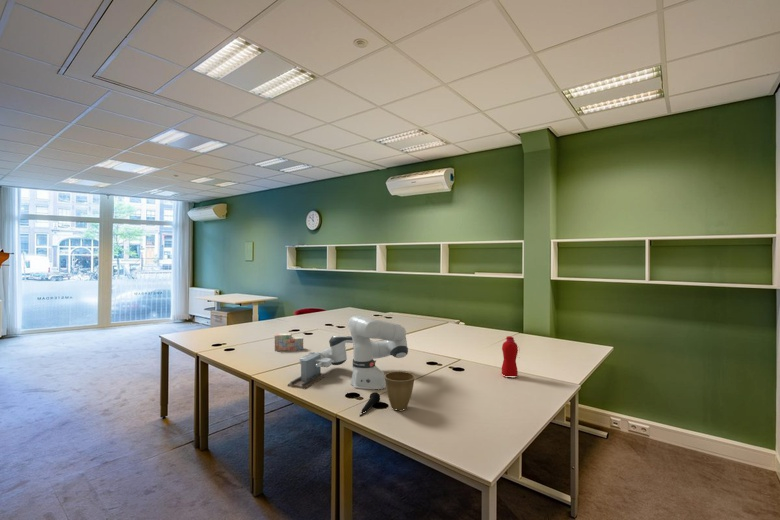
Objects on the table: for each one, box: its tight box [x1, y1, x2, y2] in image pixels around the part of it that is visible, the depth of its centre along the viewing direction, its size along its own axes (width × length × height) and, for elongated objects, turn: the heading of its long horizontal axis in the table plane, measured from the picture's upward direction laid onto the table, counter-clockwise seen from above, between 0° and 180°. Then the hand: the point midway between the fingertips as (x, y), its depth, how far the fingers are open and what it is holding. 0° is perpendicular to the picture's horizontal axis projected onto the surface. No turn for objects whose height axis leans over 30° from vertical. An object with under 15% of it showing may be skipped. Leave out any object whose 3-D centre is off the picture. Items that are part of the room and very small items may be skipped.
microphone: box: [360, 391, 381, 413], centre depth 181 cm, size 6×6×20 cm
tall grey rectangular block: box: [300, 354, 322, 381], centre depth 222 cm, size 4×16×12 cm, turn 159°
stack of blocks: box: [274, 332, 304, 352], centre depth 288 cm, size 21×6×12 cm, turn 98°
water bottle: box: [501, 336, 519, 377], centre depth 230 cm, size 9×11×25 cm
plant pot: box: [384, 371, 415, 411], centre depth 181 cm, size 15×15×16 cm
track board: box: [287, 372, 325, 389], centre depth 217 cm, size 12×20×2 cm, turn 160°
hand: (308, 365), depth 219 cm, fingers open, 8 cm apart
